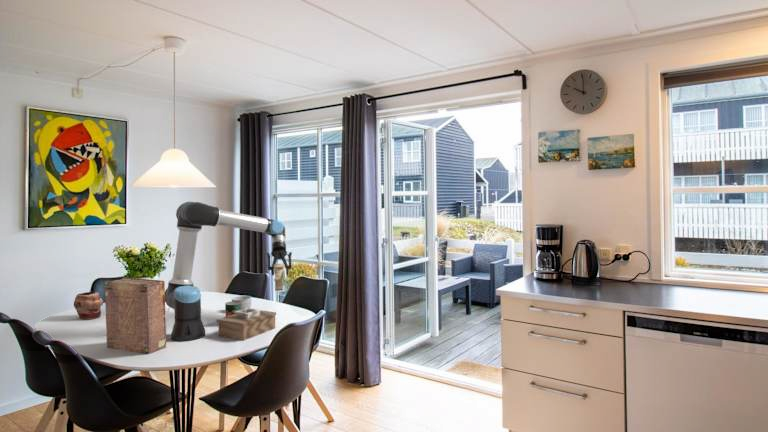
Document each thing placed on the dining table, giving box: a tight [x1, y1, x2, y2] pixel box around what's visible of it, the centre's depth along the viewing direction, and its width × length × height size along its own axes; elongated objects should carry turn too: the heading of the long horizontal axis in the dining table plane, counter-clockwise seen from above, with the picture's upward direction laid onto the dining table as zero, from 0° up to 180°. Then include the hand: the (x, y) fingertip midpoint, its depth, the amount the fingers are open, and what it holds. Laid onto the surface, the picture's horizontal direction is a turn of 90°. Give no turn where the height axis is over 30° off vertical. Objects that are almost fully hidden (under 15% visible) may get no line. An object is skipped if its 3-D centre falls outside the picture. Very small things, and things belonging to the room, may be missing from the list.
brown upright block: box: [104, 277, 167, 355], centre depth 206 cm, size 25×9×30 cm, turn 69°
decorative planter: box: [73, 291, 104, 320], centre depth 257 cm, size 20×12×14 cm, turn 72°
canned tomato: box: [224, 300, 241, 317], centre depth 244 cm, size 8×8×11 cm
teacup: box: [231, 295, 252, 310], centre depth 272 cm, size 14×11×8 cm
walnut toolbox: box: [216, 307, 277, 341], centre depth 229 cm, size 23×17×10 cm
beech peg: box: [274, 263, 285, 292], centre depth 247 cm, size 6×6×14 cm
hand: (280, 279), depth 244 cm, fingers open, 5 cm apart
